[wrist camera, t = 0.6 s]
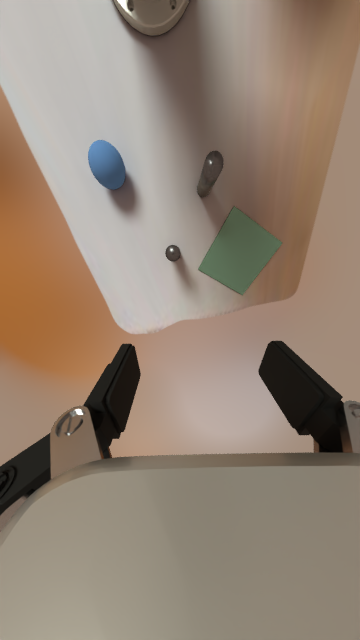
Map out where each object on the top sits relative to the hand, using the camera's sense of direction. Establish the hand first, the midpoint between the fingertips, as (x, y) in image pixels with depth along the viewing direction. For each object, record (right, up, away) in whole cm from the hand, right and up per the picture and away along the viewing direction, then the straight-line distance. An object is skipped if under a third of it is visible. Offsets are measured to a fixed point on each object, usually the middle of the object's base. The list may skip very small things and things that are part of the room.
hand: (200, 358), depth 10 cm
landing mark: (+13, +18, +23) cm, 32 cm away
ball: (-14, +29, +14) cm, 35 cm away
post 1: (-3, +19, +22) cm, 29 cm away
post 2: (+3, +29, +17) cm, 34 cm away
